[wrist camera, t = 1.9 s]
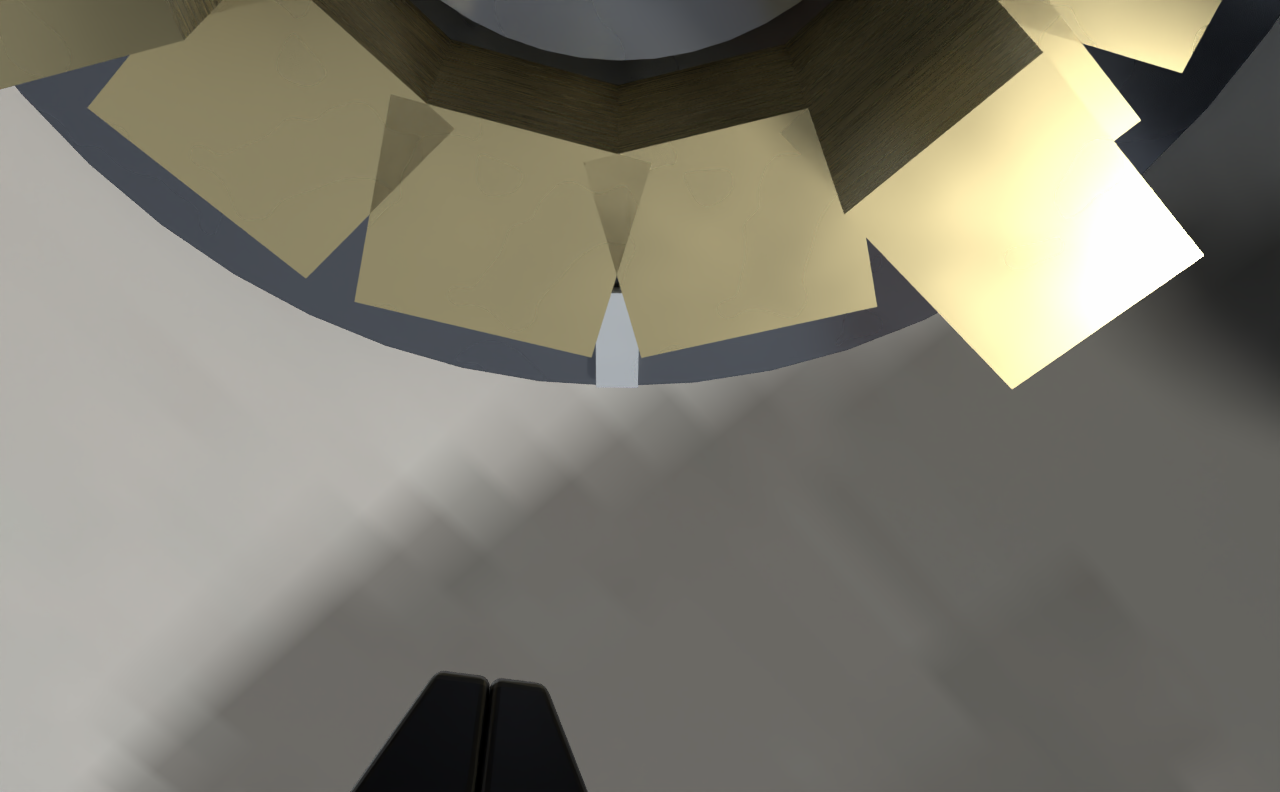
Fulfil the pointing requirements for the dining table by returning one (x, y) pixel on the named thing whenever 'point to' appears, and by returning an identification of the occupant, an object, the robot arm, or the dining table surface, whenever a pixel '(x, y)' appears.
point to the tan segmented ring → (661, 162)
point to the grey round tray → (617, 53)
